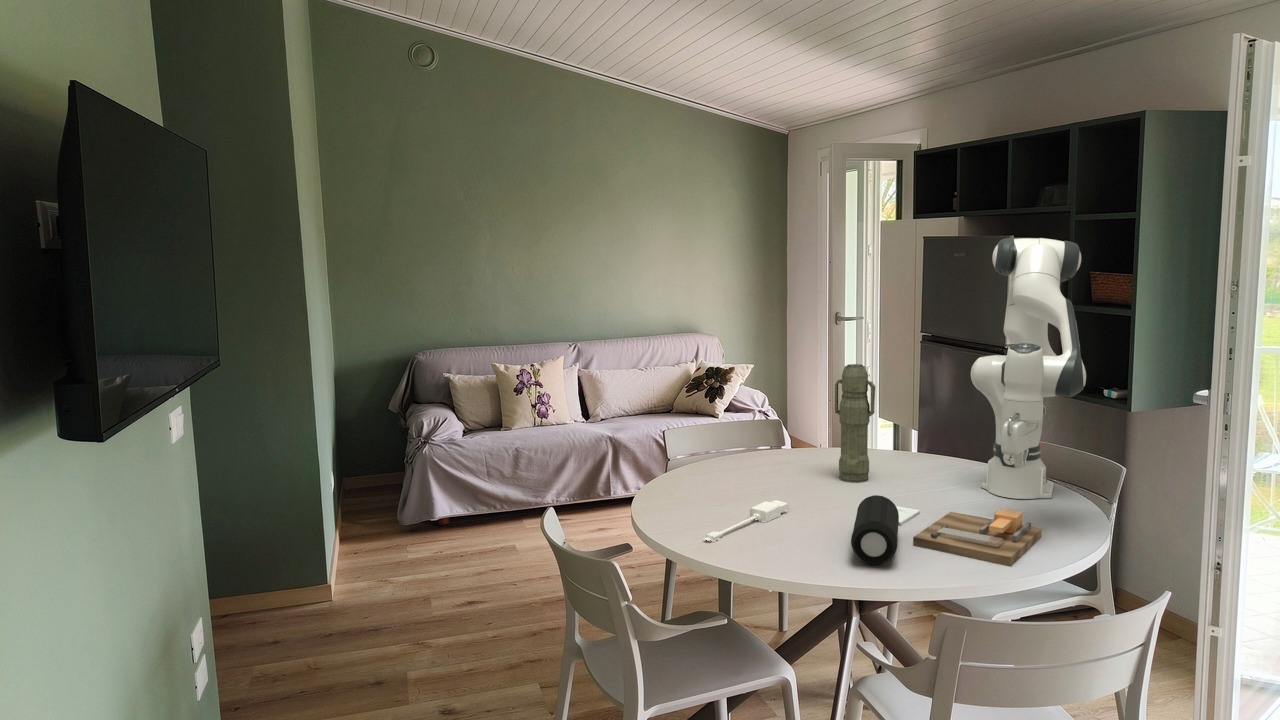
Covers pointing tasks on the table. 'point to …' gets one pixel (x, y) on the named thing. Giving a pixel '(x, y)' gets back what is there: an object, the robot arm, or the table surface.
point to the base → (1003, 554)
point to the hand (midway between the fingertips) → (1020, 466)
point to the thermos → (854, 422)
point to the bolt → (1006, 521)
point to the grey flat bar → (970, 537)
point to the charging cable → (755, 516)
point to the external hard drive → (906, 514)
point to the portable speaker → (875, 530)
